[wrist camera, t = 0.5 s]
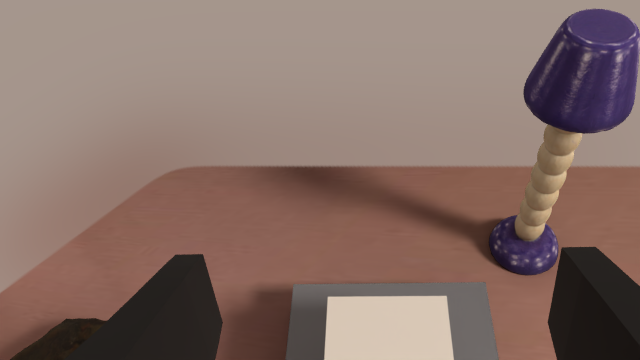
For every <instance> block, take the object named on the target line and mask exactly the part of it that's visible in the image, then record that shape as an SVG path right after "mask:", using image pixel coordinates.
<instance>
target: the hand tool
mask: <svg viewBox="0 0 640 360" xmlns="http://www.w3.org/2000/svg"><path fill="white" fill-rule="evenodd" d="M106 322H107V321H102V320H99V319H96V318H92V319H65V320H64V321H63V322H62V323H61V324H59V325H57V326H56V327H54V328H53V329H51V330H50V331H49V332H48V333H47V334H46V335H45V336H43V337H42V338H41V339H39V340H38V341H36V342H35V343H33V344H32V345H30V346H28V347H27V348H25V349H24V350H22V351H21V352H19V353H18V354H16V355H15V356H14V357H13V358H12V359H10V360H64V359H65V358H67V357H68V356H69V355H70V354H71V353H72V352H73V351H74V350H76V349H77V348H78V347H79V346H80V345H81V344H82V343H83V342H85V341H86V340H87V339H88V338H89V337H90V336H91V335H92V334H94V333H95V332H96V331H97V330H98V329H99V328H100V327H101V326H103V325H104V324H105V323H106Z"/></svg>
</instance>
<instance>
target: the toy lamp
mask: <svg viewBox="0 0 640 360" xmlns="http://www.w3.org/2000/svg"><path fill="white" fill-rule="evenodd" d="M639 51H640V33H639V29H638V27H637V26H636V24H635V23H634V22H633V21H632V20H631V19H629V18H628V17H626V16H624V15H622V14H620V13H617V12H614V11H610V10H604V9H586V10H583V11H579V12H576V13H575V14H572V15H571V16H569V17H568V18H567V19H566V20H565V21H564V22H563V23H562V25H561V26H560V27H559V29H558V30H557V31H556V33H555V35H554V36H553V38H552V40H551V41H550V43H549V44H548V46H547V47H546V49H545V50H544V52H543V53H542V55H541V57H540V58H539V60H538V62H537V63H536V65H535V66H534V68H533V70H532V71H531V73H530V75H529V76H528V78H527V80H526V83H525V86H524V99H525V102H526V104H527V107H528V108H529V109H530V110H531V112H532V113H533V114H534V115H535V116H536V117H537V118H539V119H540V120H541V121H543V122H544V123H546V124H548V125H547V127H546V129H545V132H544V143H543V144H542V145H541V146H540V148H539V151H538V155H537V162H536V164H535V165H534V167H533V169H532V172H531V181H530V182H529V183H528V185H527V187H526V190H525V198H524V199H523V201H522V202H521V205H520V213H519V214H518V215H516V216H511V217H508V218H506V219H504V220H502V221H501V222H500V223H498V224H497V226H496V227H495V228H494V229H493V231H492V233H491V235H490V238H489V245H490V249H491V252H492V255H493V256H494V258H495V259H496V261H497V262H498V263H499V264H500V265H502V266H503V267H505V268H506V269H508V270H509V271H512V272H515V273H518V274H522V275H536V274H540V273H542V272H545V271H547V270H549V269H550V268H551V267H552V266H553V265H554V264H555V262H556V260H557V256H558V242H557V239H556V236H555V234H554V232H553V231H552V229H551V228H550V227H549V226H548V225H547V224H546V223H545V222H546V221H547V220H548V218H549V216H550V214H551V211H552V206H553V205H554V204H555V202H556V200H557V198H558V195H559V189H560V188H561V187H562V185H563V184H564V181H565V179H566V170H567V169H568V168H569V167H570V165H571V163H572V161H573V157H574V150H575V149H576V148H577V147H578V145H579V143H580V141H581V138H582V134H583V133H597V132H601V131H607V130H610V129H612V128H614V127H615V126H617V125H619V124H620V123H622V122H623V121H624V120H625V119H626V118H627V117H628V116H629V114H630V112H631V110H632V107H633V104H634V99H635V91H636V82H637V73H638V63H639Z"/></svg>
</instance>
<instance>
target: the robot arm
mask: <svg viewBox="0 0 640 360" xmlns="http://www.w3.org/2000/svg"><path fill="white" fill-rule="evenodd" d="M222 323H223V322H222V318H221V315H220V311H219V308H218V305H217V301H216V298H215V294H214V291H213V287H212V284H211V280H210V277H209V274H208V270H207V267H206V263H205V260H204V256H203V254H193V255H175V256H174V257H173V258H172V259H171V260H169V261H168V262H167V263H166V264H165V265H164V266H163V267H162V268H161V269H160V270H159V271H158V272H157V273H156V274H155V275H154V276H153V277H152V278H151V279H150V280H149V281H148V282H147V283H146V284H145V285H144V286H143V287H142V288H141V289H140V290H139V291H138V292H137V293H136V294H135V295H134V296H133V297H132V298H131V299H130V300H129V301H128V302H127V303H125V304H124V305H123V306H122V307H121V308H120V309H119V310H118V311H117V312H116V313H115V314H114V315H113V316H112V317H111V318H110V319H109V320H108V321H107V322H106V323H105V324H104V325H103V326H101V327H100V328H99V329H98V330H97V331H96V332H95V333H94V334H92V335H91V336H90V337H89V338H88V339H87V340H86V341H85V342H83V343H82V344H81V345H80V346H79V347H78V348H77V349H76V350H74V351H73V352H72V353H71V354H70V355H69V356H68V357H67V358H65V359H64V360H215V358H216V353H217V349H218V344H219V339H220V333H221V328H222ZM548 325H549V329H550V333H551V337H552V341H553V345H554V349H555V353H556V357H557V360H640V286H639V285H638V284H637V283H635V282H634V281H633V280H632V279H631V278H630V277H629V276H628V275H626V274H625V273H624V272H623V271H622V270H621V269H620V268H619V267H618V266H617V265H615V264H614V263H613V262H612V261H611V260H610V259H609V258H608V257H606V256H605V255H604V254H603V253H602V252H601V251H600V250H599V249H597V248H596V247H565V248H562V249H561V255H560V260H559V265H558V271H557V276H556V281H555V287H554V292H553V297H552V303H551V308H550V313H549V319H548Z"/></svg>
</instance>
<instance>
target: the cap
mask: <svg viewBox="0 0 640 360" xmlns="http://www.w3.org/2000/svg"><path fill="white" fill-rule="evenodd" d="M324 360H454V357H453V348H452V339H451V330H450V321H449V313H448V304H447V296H356V297H328V302H327V320H326V338H325V355H324Z"/></svg>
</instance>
